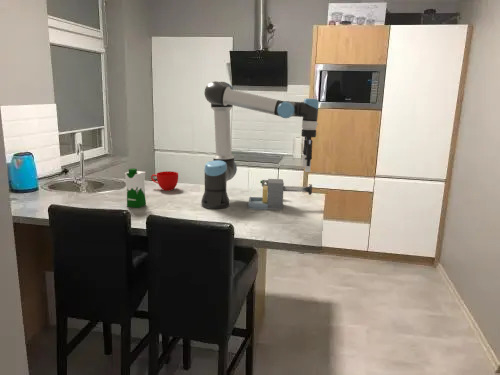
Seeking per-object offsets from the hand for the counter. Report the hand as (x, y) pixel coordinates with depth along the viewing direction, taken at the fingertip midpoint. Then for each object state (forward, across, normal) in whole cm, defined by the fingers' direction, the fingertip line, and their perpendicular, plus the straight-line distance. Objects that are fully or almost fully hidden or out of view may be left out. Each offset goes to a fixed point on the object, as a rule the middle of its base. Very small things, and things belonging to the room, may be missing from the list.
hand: (306, 169), depth 211 cm
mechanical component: (+21, +18, +18) cm, 33 cm away
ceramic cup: (+22, +29, +82) cm, 90 cm away
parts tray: (+21, 0, +24) cm, 32 cm away
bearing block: (+21, 0, +15) cm, 26 cm away
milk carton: (+22, -8, +88) cm, 91 cm away
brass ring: (+16, 0, +21) cm, 26 cm away
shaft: (+14, 0, +7) cm, 15 cm away
